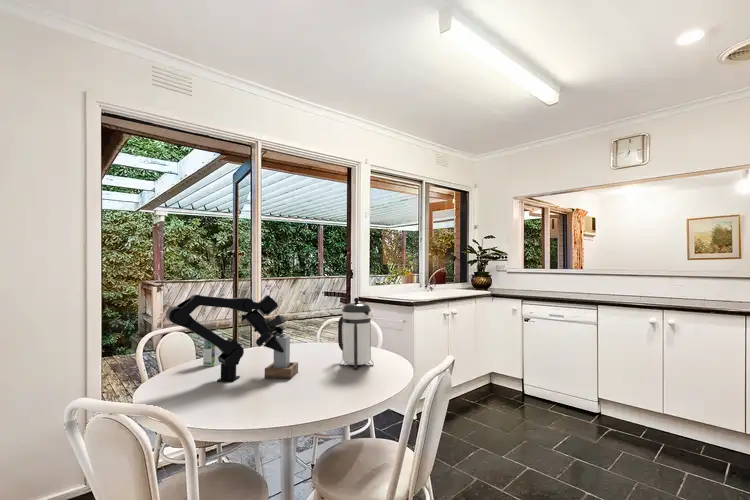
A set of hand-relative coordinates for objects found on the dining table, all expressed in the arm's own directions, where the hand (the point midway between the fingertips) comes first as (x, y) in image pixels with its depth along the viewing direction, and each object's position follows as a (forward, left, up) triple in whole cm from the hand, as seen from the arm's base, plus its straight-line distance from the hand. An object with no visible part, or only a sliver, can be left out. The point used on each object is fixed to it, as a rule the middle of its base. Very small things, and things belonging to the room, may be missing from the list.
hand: (285, 350), depth 156 cm
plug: (0, +1, -7) cm, 7 cm away
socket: (0, +1, -10) cm, 10 cm away
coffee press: (+18, -26, -10) cm, 33 cm away
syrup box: (+15, +38, -10) cm, 42 cm away
